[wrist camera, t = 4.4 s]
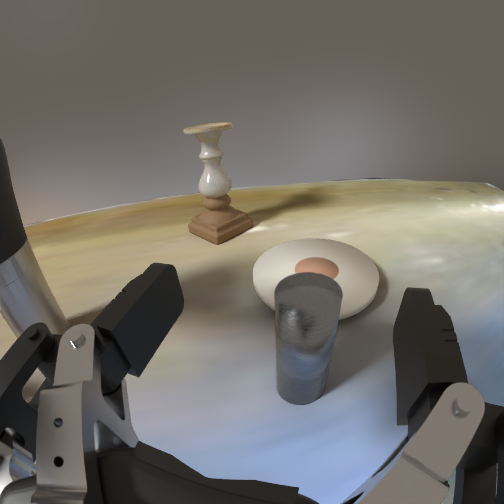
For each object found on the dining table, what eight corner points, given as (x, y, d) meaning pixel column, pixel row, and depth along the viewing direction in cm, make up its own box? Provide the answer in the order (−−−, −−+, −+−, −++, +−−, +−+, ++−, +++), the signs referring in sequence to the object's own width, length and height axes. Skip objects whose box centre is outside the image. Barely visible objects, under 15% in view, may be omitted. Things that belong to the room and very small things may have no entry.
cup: (279, 408, 27) (279, 320, 20) (274, 369, 32) (270, 275, 24) (329, 400, 27) (352, 310, 20) (318, 362, 32) (331, 268, 24)
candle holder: (217, 245, 58) (202, 129, 46) (188, 231, 65) (171, 130, 53) (254, 226, 65) (245, 121, 53) (223, 215, 72) (212, 122, 59)
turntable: (259, 330, 35) (258, 322, 34) (249, 251, 52) (249, 244, 52) (398, 308, 36) (400, 300, 35) (351, 241, 53) (352, 234, 52)
